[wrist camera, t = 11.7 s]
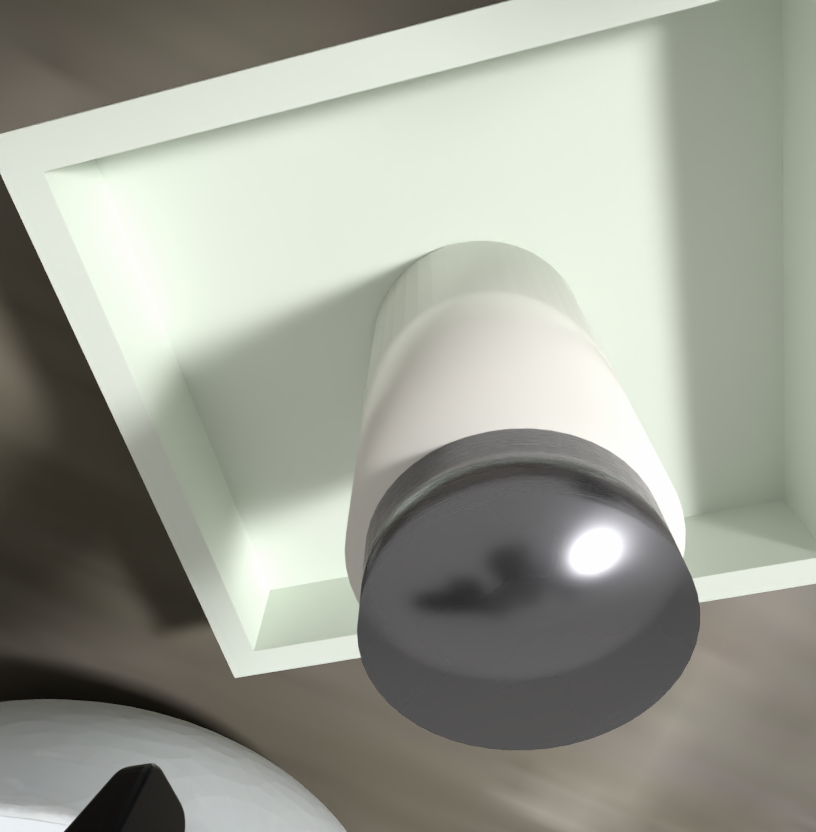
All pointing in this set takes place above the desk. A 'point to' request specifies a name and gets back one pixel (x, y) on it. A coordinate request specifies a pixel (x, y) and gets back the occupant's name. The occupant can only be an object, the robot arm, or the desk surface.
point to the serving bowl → (134, 745)
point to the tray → (425, 233)
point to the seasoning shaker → (510, 514)
